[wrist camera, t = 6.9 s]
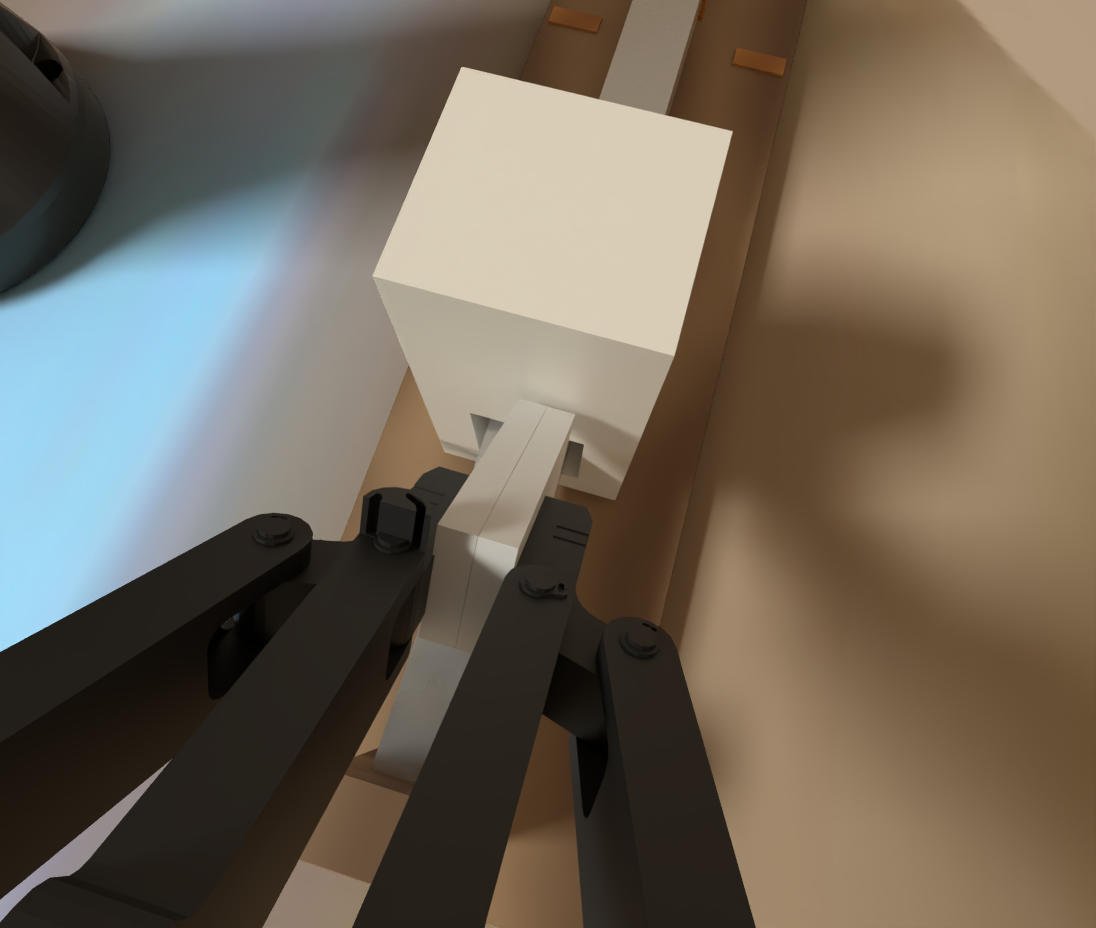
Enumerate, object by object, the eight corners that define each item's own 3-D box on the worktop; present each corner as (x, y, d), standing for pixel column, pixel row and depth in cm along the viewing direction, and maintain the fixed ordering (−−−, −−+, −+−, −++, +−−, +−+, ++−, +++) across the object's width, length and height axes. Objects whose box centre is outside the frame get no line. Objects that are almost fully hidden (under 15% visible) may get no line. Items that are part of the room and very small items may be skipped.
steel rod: (373, 791, 21) (347, 808, 18) (683, -131, 33) (696, -205, 30) (465, 820, 20) (454, 842, 18) (742, -118, 33) (761, -192, 30)
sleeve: (444, 452, 26) (372, 276, 15) (493, 316, 28) (461, 66, 16) (614, 500, 25) (674, 356, 14) (653, 358, 27) (732, 131, 16)
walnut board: (240, 828, 24) (97, 896, 16) (592, -86, 37) (605, -285, 29) (579, 941, 23) (600, 1071, 15) (812, -38, 36) (885, -231, 29)
